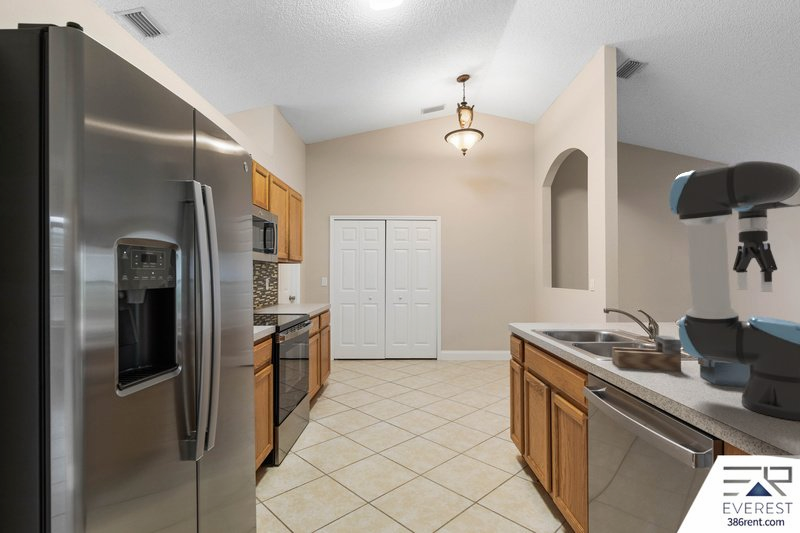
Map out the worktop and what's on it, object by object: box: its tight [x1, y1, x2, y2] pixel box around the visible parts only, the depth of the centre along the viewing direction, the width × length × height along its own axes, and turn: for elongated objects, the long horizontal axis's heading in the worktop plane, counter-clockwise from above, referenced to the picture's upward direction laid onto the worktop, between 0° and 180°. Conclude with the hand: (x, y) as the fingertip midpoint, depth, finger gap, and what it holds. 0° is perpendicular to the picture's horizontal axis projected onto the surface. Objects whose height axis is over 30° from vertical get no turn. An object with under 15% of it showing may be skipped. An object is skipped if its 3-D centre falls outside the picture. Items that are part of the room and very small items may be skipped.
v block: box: [699, 360, 750, 388], centre depth 122 cm, size 10×10×7 cm
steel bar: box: [697, 357, 718, 367], centre depth 121 cm, size 4×16×4 cm, turn 74°
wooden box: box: [611, 334, 682, 372], centre depth 142 cm, size 20×9×11 cm, turn 74°
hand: (753, 291), depth 133 cm, fingers open, 13 cm apart
